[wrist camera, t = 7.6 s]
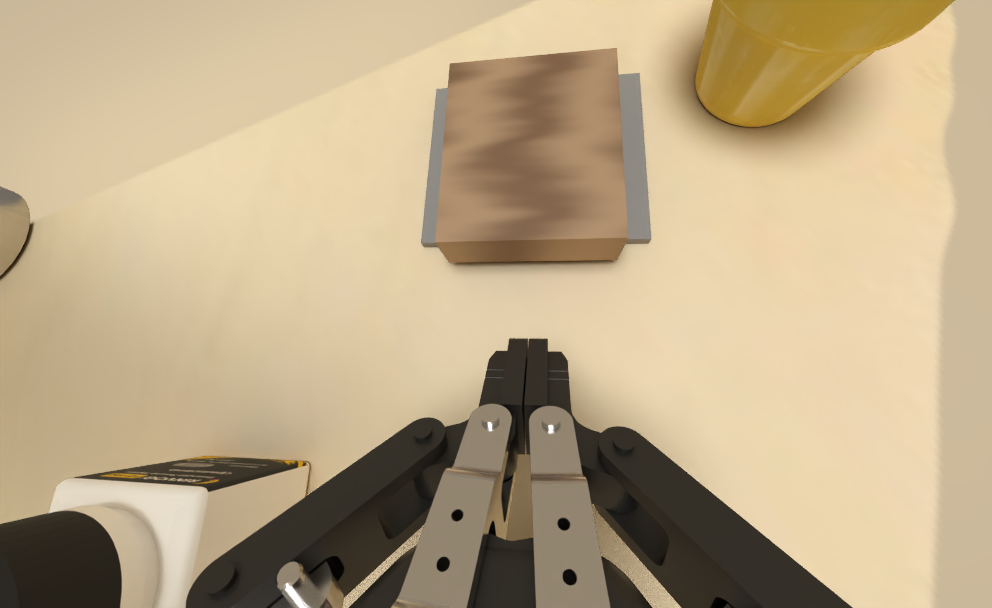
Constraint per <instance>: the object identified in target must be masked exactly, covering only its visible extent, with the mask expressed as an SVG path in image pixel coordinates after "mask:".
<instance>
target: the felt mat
mask: <svg viewBox="0 0 992 608" xmlns="http://www.w3.org/2000/svg"><path fill="white" fill-rule="evenodd" d="M618 76H619V93H620V109H621V125H622V142H623V158H624V174H625V190H626V207H627V223H628V239H627V241H626V243H649V241H650V240H651V229H650V214H649V200H648V186H647V172H646V158H645V144H644V130H643V116H642V102H641V88H640V74H639V73H634V74H621V75H618ZM447 93H448V88H444V89H437V91H436V101H435V111H434V121H433V130H432V140H431V150H430V160H429V170H428V180H427V190H426V200H425V210H424V219H423V229H422V239H421V243H422V245H423V246H424V247H436V246H437V244H436V243H435V236H436V224H437V212H438V200H439V188H440V176H441V164H442V152H443V141H444V129H445V117H446V105H447Z"/></svg>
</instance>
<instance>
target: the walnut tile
mask: <svg viewBox="0 0 992 608" xmlns="http://www.w3.org/2000/svg"><path fill="white" fill-rule="evenodd" d="M627 239H628V223H627V207H626V190H625V174H624V158H623V142H622V125H621V109H620V93H619V76H618V60H617V48H611V49H601V50H590V51H579V52H569V53H558V54H548V55H537V56H526V57H516V58H505V59H494V60H484V61H473V62H463V63H452V64H450V69H449V81H448V93H447V105H446V117H445V129H444V141H443V152H442V164H441V176H440V188H439V200H438V212H437V224H436V236H435V243H436V244H437V246H438V247H439V249H440V250H441V251H442V253H443V254H444V256H445V257H446V259H447V260H448V261H449V262H509V261H572V260H617V259H618V257H619V255H620V253H621V251H622V249H623V247H624V245H625V243H626V241H627Z"/></svg>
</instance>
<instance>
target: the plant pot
mask: <svg viewBox="0 0 992 608" xmlns="http://www.w3.org/2000/svg"><path fill="white" fill-rule="evenodd" d="M953 1H955V0H713V3H712V7H711V12H710V16H709V20H708V25H707V29H706V34H705V38H704V42H703V47H702V51H701V55H700V60H699V64H698V69H697V73H696V79H695V86H696V91H697V94H698V97H699V99H700V101H701V102H702V104H703V105H704V107H705V108H706V109H707V110H708V111H709V112H710V113H712V114H713V115H714V116H716V117H718V118H719V119H721V120H723V121H726V122H728V123H731V124H734V125H739V126H745V127H760V126H766V125H770V124H774V123H777V122H779V121H782V120H784V119H786V118H787V117H789V116H790V115H792V114H793V113H795V112H796V111H797V110H798V109H800V108H801V107H802V106H804V105H805V104H806V103H808V102H809V101H810V100H811V99H813V98H814V97H815V96H817V95H818V94H819V93H820V92H822V91H823V90H824V89H826V88H827V87H828V86H830V85H831V84H832V83H834V82H835V81H836V80H838V79H839V78H840V77H842V76H843V75H844V74H845V73H847V72H848V71H849V70H851V69H852V68H853V67H855V66H856V65H857V64H859V63H860V62H861V61H863V60H864V59H865V58H867V57H868V56H869V55H870V54H872V53H873V52H874V51H877V50H880V49H883V48H886V47H889V46H892V45H894V44H896V43H898V42H900V41H902V40H904V39H906V38H908V37H910V36H912V35H913V34H915V33H916V32H918V31H919V30H921V29H922V28H924V27H925V26H926V25H927V24H929V23H930V22H931V21H932V20H933V19H934V18H936V17H937V16H938V15H939V14H940V13H941V12H942V11H943V10H945V9H946V8H947V7H948V6H949V5H950V4H951V3H952V2H953Z"/></svg>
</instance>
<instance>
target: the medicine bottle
mask: <svg viewBox="0 0 992 608" xmlns="http://www.w3.org/2000/svg"><path fill="white" fill-rule="evenodd" d="M308 475H309V464H308V463H307V462H304V461H288V460H269V459H251V458H233V457H215V456H202V457H196V458H190V459H184V460H178V461H172V462H166V463H159V464H153V465H147V466H141V467H135V468H129V469H123V470H117V471H111V472H104V473H98V474H92V475H86V476H80V477H74V478H69V479H66V480H64V481H62V482H61V483H60V484H59V485H58V486H57V487H56V490H55V493H54V496H53V499H52V503H51V506H50V509H49V512H48V513H47V514H43V515H39V516H34V517H30V518H25V519H21V520H17V521H12V522H8V523H3V524H0V608H186V599H187V595H188V593H189V590H190V588H191V587H192V585H193V583H194V582H195V580H196V579H197V577H198V576H199V575H200V574H201V572H202V571H203V570H204V569H205V568H206V567H207V566H208V565H210V564H211V563H212V562H213V561H214V560H216V559H217V558H219V557H220V556H221V555H223V554H224V553H226V552H227V551H229V550H230V549H231V548H233V547H234V546H236V545H237V544H239V543H240V542H241V541H243V540H244V539H246V538H247V537H249V536H250V535H252V534H253V533H254V532H256V531H257V530H259V529H260V528H262V527H263V526H264V525H266V524H267V523H269V522H270V521H272V520H273V519H274V518H276V517H277V516H279V515H280V514H282V513H283V512H284V511H286V510H287V509H289V508H290V507H292V506H293V505H295V504H296V503H297V502H299V501H300V500H302V499H303V498H305V495H306V488H307V482H308Z"/></svg>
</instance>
